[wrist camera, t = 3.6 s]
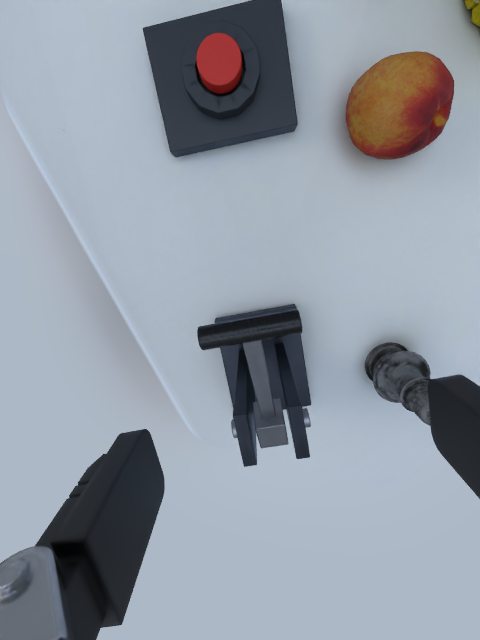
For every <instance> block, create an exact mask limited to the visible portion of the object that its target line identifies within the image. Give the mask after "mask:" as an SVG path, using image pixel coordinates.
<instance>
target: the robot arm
mask: <svg viewBox="0 0 480 640" xmlns="http://www.w3.org/2000/svg"><path fill="white" fill-rule="evenodd" d="M428 397H429V411H430V424H431V433H432V437H433V440H434V442H435V444H436V447H437V448H438V450H439V451H440V453H441V454H442V456H443V457H444V458H445V459H446V460H447V461H448V462H449V464H450V465H451V466H452V467H453V468H454V469H455V471H456V472H457V473H458V474H459V475H460V476H461V477H462V479H463V480H464V481H465V482H466V483H467V485H468V486H469V487H470V488H471V489H472V490H473V491H474V492H475V494H476V495H477V496H478V497H479V498H480V386H478V385H477V384H475V383H474V382H472V381H471V380H469V379H468V378H466V377H465V376H463V375H454V376H448V377H443V378H437V379H432V380H430V381H429V383H428ZM163 494H164V475H163V471H162V468H161V465H160V462H159V459H158V456H157V453H156V449H155V446H154V443H153V440H152V437H151V434H150V432H149V431H148V430H146V429H143V430H138V431H132V432H127V433H121V434H120V435H119V436H118V437H117V438H116V440H115V442H114V443H113V445H112V446H111V448H110V449H109V451H108V453H107V454H103V455H102V456H101V457H100V458H99V459H98V460H96V461H95V462H94V463H93V464H92V465H91V466H90V467H89V468H88V469H87V470H86V472H85V473H84V475H83V476H82V478H81V479H80V481H79V482H78V486H75V488H74V489H73V491H72V492H71V494H70V495H69V499H67V500H66V501H65V503H64V504H63V506H62V507H61V508H60V510H59V511H58V513H57V514H56V516H55V517H54V519H53V520H52V522H51V523H50V525H49V526H48V528H47V529H46V530H45V532H44V534H43V535H42V536H41V538H40V539H39V541H38V542H37V544H36V545H35V546H34V547H30V548H27V549H24V550H22V551H19V552H18V553H16V554H14V555H12V556H10V557H9V558H7V559H6V560H4V561H3V562H2V563H0V640H96V638H97V636H98V633H99V630H100V628H102V627H110V626H117V625H122V622H123V619H124V616H125V613H126V610H127V607H128V604H129V601H130V598H131V594H132V592H133V588H134V585H135V582H136V579H137V576H138V573H139V569H140V567H141V564H142V561H143V557H144V554H145V551H146V548H147V545H148V542H149V539H150V536H151V533H152V530H153V527H154V524H155V520H156V517H157V514H158V511H159V508H160V505H161V502H162V499H163Z"/></svg>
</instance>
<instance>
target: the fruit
mask: <svg viewBox="0 0 480 640" xmlns="http://www.w3.org/2000/svg"><path fill="white" fill-rule="evenodd" d="M453 95H454V80H453V77H452V75H451V73H450V72H449V70H448V69H447V68H446V66H445V65H444V64H443V62H442V61H441V60H440V59H439V58H437V57H435V56H434V55H432V54H429V53H427V52H417V51H416V52H407V53H401V54H396V55H391V56H389V57H386V58H384V59H382V60H381V61H379V62H378V63H376V64H375V65H373V66H372V67H371V68H370V69H369V70H368V71H366V72H365V73H364V74H363V75H362V76H361V77H360V78H359V79H358V80H357V82H356V83H355V85H354V86H353V87H352V89H351V92H350V94H349V97H348V100H347V106H346V122H347V127H348V131H349V134H350V137H351V140H352V142H353V144H354V145H355V146H356V147H357V148H358V149H359V150H360V151H362V152H363V153H365V154H366V155H369V156H373V157H375V158H379V159H396V158H401V157H405V156H407V155H410V154H413V153H415V152H417V151H419V150H421V149H423V148H424V147H426V146H427V145H429V144H430V143H431V142H432V141H434V140H435V139H436V138H437V137H438V136H439V135H440V134H441V132H442V130H443V128H444V126H445V124H446V122H447V120H448V118H449V114H450V110H451V104H452V100H453Z"/></svg>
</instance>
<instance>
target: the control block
mask: <svg viewBox="0 0 480 640" xmlns="http://www.w3.org/2000/svg"><path fill="white" fill-rule="evenodd" d="M143 32H144V37H145V41H146V46H147V50H148V55H149V59H150V63H151V68H152V72H153V77H154V81H155V86H156V90H157V95H158V99H159V104H160V108H161V113H162V117H163V121H164V126H165V130H166V135H167V139H168V144H169V148H170V152H171V153H172V154H173V155H174V156H175V157H179V156H183V155H188V154H193V153H197V152H202V151H206V150H211V149H215V148H220V147H224V146H229V145H234V144H238V143H243V142H247V141H252V140H256V139H261V138H265V137H270V136H275V135H279V134H284V133H288V132H293V131H295V128H296V126H297V116H296V109H295V101H294V94H293V86H292V78H291V71H290V63H289V56H288V48H287V40H286V33H285V25H284V18H283V10H282V3H281V0H252V1H248V2H244V3H240V4H236V5H232V6H228V7H224V8H220V9H216V10H212V11H208V12H204V13H200V14H196V15H192V16H188V17H184V18H180V19H176V20H172V21H168V22H164V23H161V24H157V25H153V26H149V27H145V28H143ZM214 33H224V34H227V35H229V36H230V37H232V38H233V39H234V40H235V41H236V43H237V44H238V46H239V48H240V51H241V57H242V74H241V78H240V81H239V83H238V84H237V86H236V87H235V88H234V89H233V90H231V91H229V92H227V93H223V94H218V93H214V92H212V91H210V90H209V89H208V88H207V87H206V86H205V85H204V83H203V82H202V80H201V77H200V74H199V71H198V67H197V62H196V57H197V51H198V48H199V46H200V44H201V42H202V41H203V40H204V39H205V38H206V37H207V36H209V35H211V34H214Z"/></svg>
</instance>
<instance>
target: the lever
mask: <svg viewBox="0 0 480 640" xmlns="http://www.w3.org/2000/svg"><path fill="white" fill-rule="evenodd" d="M197 333H198V341H199V345H200V347H201V349H202V350H208V349H213V348H219V347H225V346H231V345H237V344H242V343H243V347H244V351H245V355H246V359H247V363H248V367H249V371H250V375H251V379H252V383H253V387H254V391H255V394H256V398H257V402H253V410H254V420H255V429H256V433H257V436H258V440H259V443H260V447H261V448H266V447H273V446H280V445H287V444H288V438H287V432H286V427H285V421H284V415H283V410H282V404H281V399H280V398H278V399H273V396H272V391H271V386H270V381H269V376H268V371H267V366H266V361H265V356H264V351H263V346H262V341H261V340H266V339H271V338H277V337H283V336H289V335H295V334H301V333H302V324H301V318H300V314H299V311H298V310H297V309H295V310H289V311H284V312H278V313H272V314H267V315H261V316H256V317H250V318H244V319H239V320H233V321H228V322H222V323H216V324H211V325H205V326H200V327H198V331H197Z"/></svg>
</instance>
